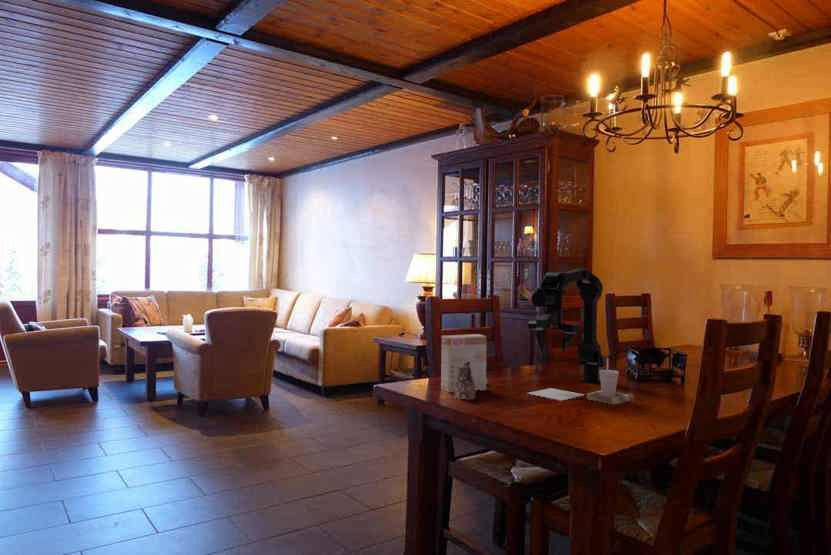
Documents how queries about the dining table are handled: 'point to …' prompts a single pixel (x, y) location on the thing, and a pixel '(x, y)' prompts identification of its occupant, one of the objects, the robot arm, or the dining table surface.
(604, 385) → the smoothie
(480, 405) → the dining table surface
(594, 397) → the holder
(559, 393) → the mat
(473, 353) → the coffeecake box
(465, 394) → the figurine
